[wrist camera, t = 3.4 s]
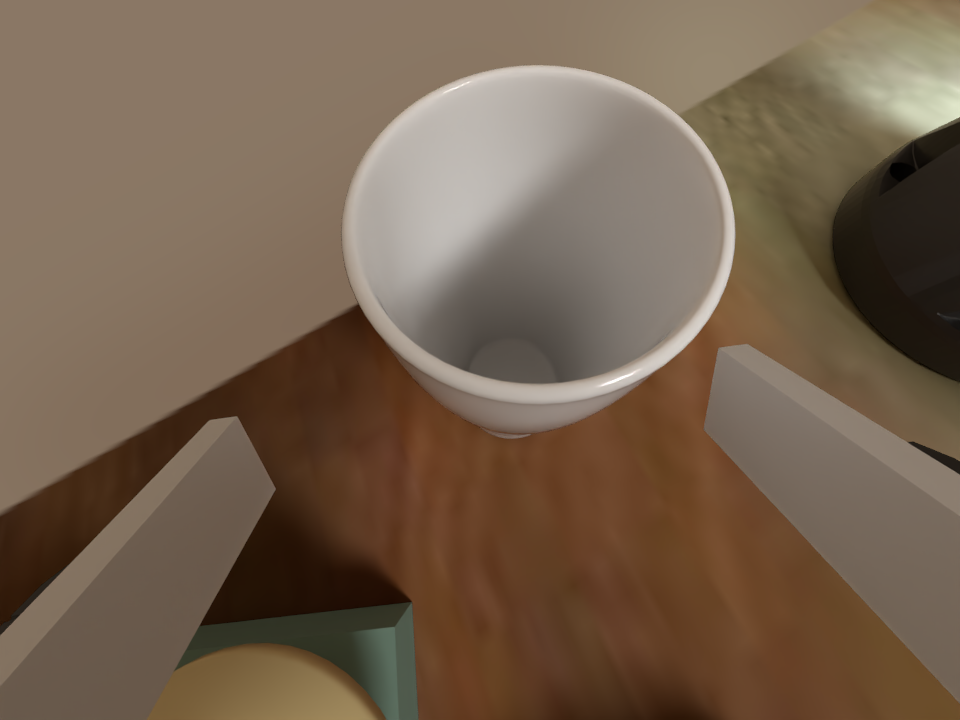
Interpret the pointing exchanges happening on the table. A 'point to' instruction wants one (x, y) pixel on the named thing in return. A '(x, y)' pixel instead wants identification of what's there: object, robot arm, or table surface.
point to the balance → (298, 669)
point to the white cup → (536, 243)
